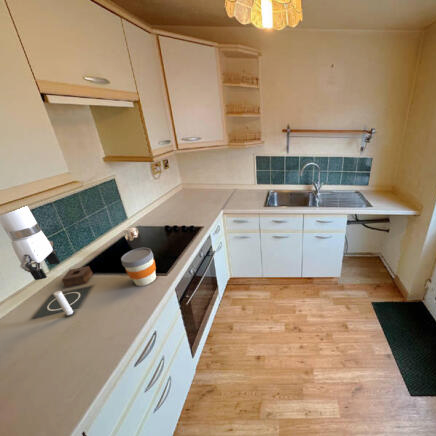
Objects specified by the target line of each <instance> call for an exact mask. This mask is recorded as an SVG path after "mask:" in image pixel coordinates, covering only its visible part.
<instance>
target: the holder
mask: <svg viewBox="0 0 436 436" xmlns="http://www.w3.org/2000/svg"><path fill="white" fill-rule="evenodd" d="M92 275H93V271H92V269H91V268H90V265H87V266H82V267H81V266H80V267H77V268H72V269H69V270H68V271H67V272H66V273H65V275H64V276H63V277H62V278H61V282H62V284H63V285H64V288H70V287H73V286H80V285H84V284H87V283H88V281H89V280H90V279H91V277H92Z"/></svg>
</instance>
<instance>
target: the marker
mask: <svg viewBox="0 0 436 436" xmlns="http://www.w3.org/2000/svg"><path fill="white" fill-rule="evenodd" d="M62 292H63V291H62V290H58V291H55V292H54V293H53V294H54V296H55V297H56V299H57V301H58V302H59V304H60V306H61V307H62V309H63V310H64V314H65V315H66V317H72V316H73V315H74V314H75V312H74V309H72V308H71V307H70V305H69V303H68V302H67V300H66V298H65V297H64V295H63V293H62Z"/></svg>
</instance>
